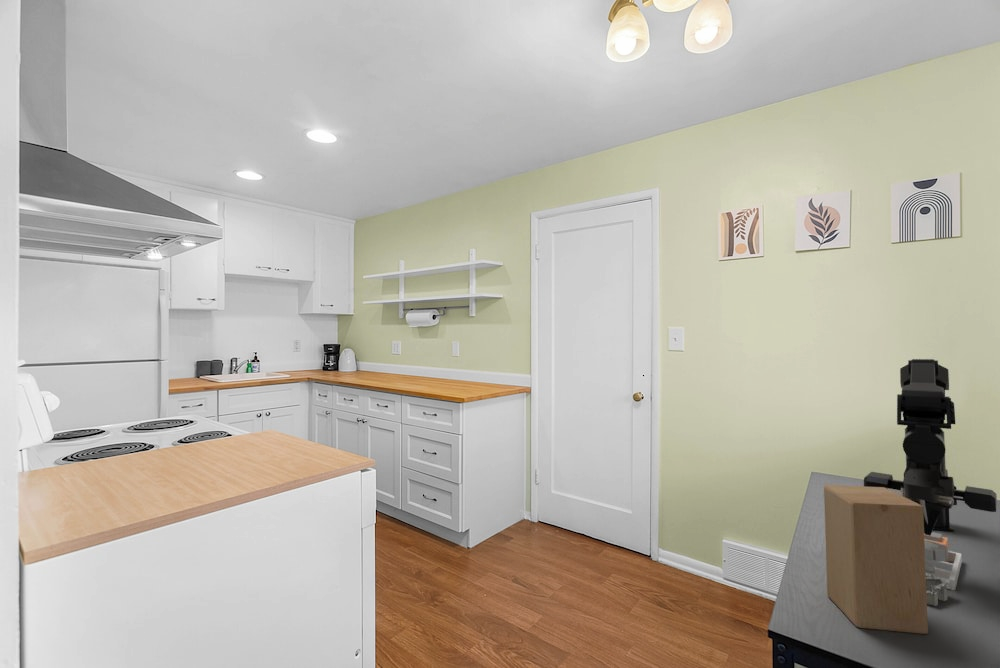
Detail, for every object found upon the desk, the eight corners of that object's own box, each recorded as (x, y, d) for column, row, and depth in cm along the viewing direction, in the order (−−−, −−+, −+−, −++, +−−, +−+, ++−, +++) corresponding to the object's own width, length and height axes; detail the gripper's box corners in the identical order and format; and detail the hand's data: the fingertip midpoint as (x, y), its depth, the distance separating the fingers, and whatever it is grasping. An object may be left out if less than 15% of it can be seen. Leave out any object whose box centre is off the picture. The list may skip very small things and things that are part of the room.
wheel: (913, 547, 94) (912, 536, 94) (948, 555, 90) (948, 544, 90) (909, 554, 90) (908, 544, 91) (945, 564, 87) (945, 552, 87)
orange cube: (922, 556, 99) (921, 528, 99) (948, 562, 96) (947, 533, 96) (919, 563, 96) (918, 535, 96) (946, 570, 93) (945, 540, 93)
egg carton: (862, 581, 89) (861, 560, 89) (885, 574, 92) (884, 553, 92) (930, 610, 79) (929, 585, 79) (955, 600, 82) (953, 576, 82)
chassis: (913, 550, 101) (912, 540, 101) (961, 562, 96) (961, 551, 96) (901, 575, 90) (900, 564, 91) (954, 590, 85) (954, 578, 85)
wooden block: (929, 635, 72) (924, 505, 73) (856, 628, 74) (852, 502, 75) (889, 601, 82) (885, 486, 82) (826, 595, 84) (822, 483, 84)
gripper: (856, 453, 92) (859, 532, 92) (993, 470, 79) (997, 564, 78) (868, 444, 100) (870, 517, 99) (995, 459, 86) (998, 544, 86)
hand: (928, 534), depth 90 cm, fingers closed
